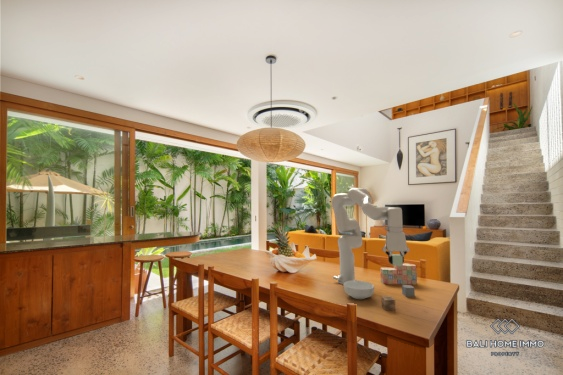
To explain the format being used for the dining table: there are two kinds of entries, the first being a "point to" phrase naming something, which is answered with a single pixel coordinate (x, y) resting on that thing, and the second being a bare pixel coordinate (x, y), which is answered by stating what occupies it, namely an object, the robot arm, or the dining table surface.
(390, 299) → the walnut cube
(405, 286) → the gray cube
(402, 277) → the stack of blocks
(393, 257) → the sage green cube
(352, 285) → the cereal bowl
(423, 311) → the dining table surface
